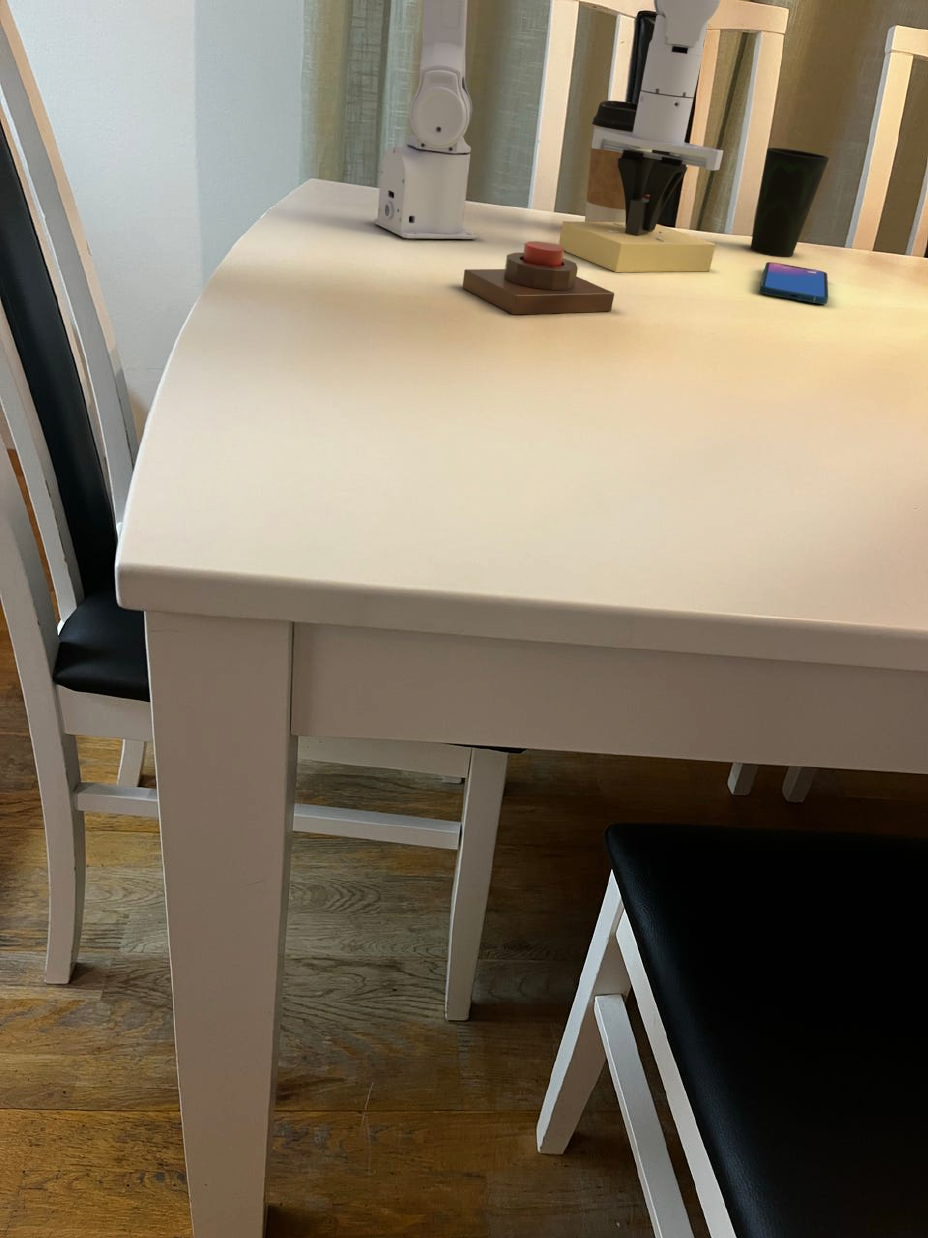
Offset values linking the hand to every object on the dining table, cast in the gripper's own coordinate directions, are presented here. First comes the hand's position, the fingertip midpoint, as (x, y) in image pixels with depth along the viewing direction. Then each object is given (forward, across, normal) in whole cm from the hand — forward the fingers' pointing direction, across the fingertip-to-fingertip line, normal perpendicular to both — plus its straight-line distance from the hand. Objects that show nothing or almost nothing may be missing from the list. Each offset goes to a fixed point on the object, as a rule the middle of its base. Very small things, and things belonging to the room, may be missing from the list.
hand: (640, 227), depth 111 cm
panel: (+3, 0, 0) cm, 3 cm away
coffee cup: (+4, +8, -12) cm, 15 cm away
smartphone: (+3, -18, -5) cm, 19 cm away
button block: (+3, -1, +28) cm, 29 cm away
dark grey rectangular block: (0, 0, 0) cm, 0 cm away
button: (0, -1, +28) cm, 28 cm away
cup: (+4, -10, -25) cm, 28 cm away
